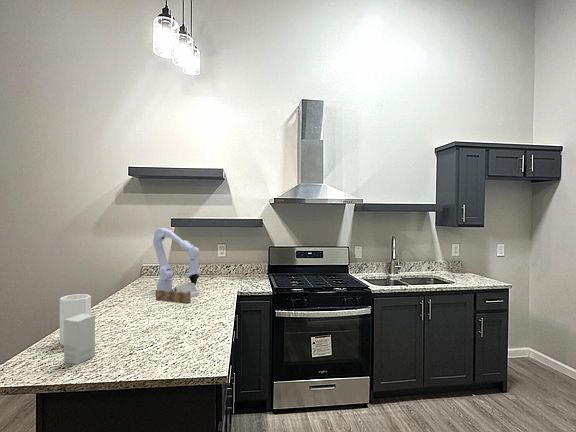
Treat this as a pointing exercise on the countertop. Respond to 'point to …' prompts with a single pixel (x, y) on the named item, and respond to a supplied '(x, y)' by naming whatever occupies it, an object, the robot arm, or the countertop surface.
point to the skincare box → (79, 338)
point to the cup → (73, 309)
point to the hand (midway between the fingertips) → (193, 286)
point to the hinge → (187, 288)
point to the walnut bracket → (173, 296)
